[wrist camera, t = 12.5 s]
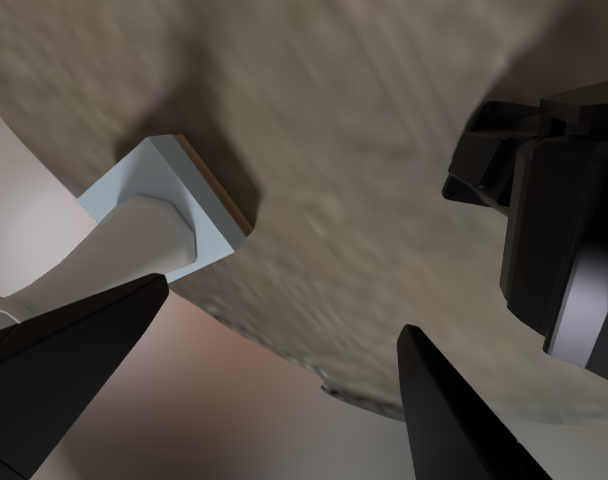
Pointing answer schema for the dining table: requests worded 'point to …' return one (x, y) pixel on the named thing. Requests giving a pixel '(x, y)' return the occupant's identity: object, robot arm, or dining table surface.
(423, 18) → the dining table surface
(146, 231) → the flask
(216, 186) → the walnut block
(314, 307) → the dining table surface
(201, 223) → the pale blue square slab
